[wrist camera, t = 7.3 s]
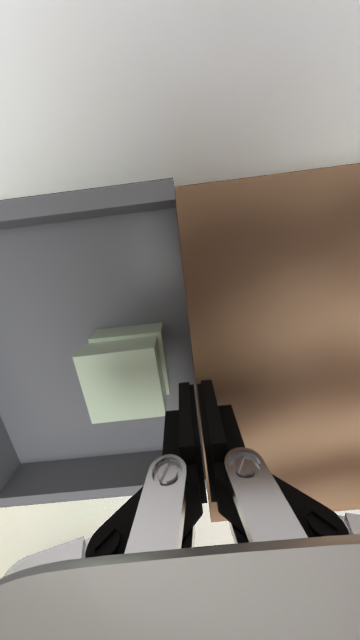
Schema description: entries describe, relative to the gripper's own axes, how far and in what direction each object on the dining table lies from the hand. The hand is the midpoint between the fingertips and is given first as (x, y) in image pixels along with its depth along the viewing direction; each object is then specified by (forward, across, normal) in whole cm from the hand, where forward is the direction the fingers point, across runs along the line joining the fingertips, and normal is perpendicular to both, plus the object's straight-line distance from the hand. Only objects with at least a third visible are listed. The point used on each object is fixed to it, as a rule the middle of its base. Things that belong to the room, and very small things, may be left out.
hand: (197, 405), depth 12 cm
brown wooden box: (+8, -8, 0) cm, 11 cm away
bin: (+8, +9, 0) cm, 12 cm away
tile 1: (+3, +5, 0) cm, 6 cm away
